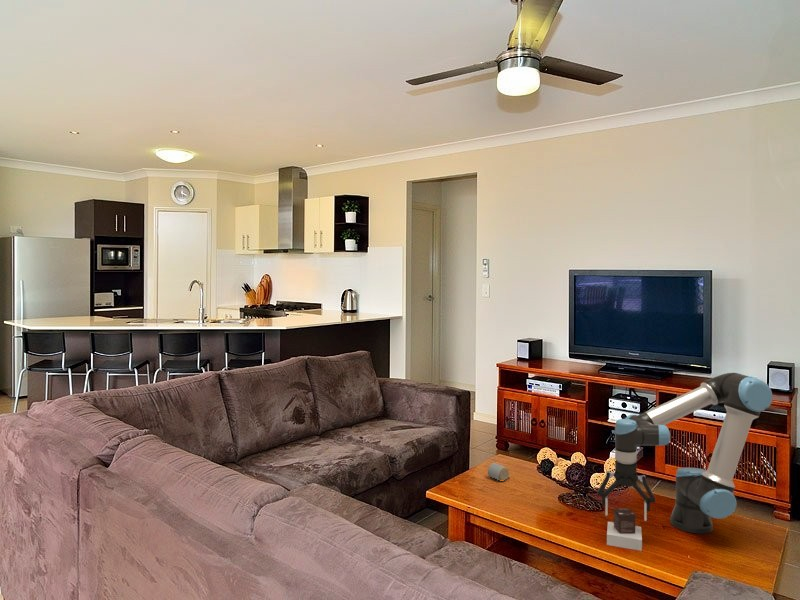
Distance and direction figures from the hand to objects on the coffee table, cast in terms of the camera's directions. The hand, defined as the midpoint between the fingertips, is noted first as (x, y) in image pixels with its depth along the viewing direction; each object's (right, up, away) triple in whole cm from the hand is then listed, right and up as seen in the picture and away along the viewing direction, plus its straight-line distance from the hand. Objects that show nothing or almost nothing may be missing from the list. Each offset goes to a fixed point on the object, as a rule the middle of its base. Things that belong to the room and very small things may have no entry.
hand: (625, 516), depth 211 cm
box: (0, -5, 0) cm, 5 cm away
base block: (-1, -9, 0) cm, 9 cm away
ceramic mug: (-36, -7, +66) cm, 75 cm away
